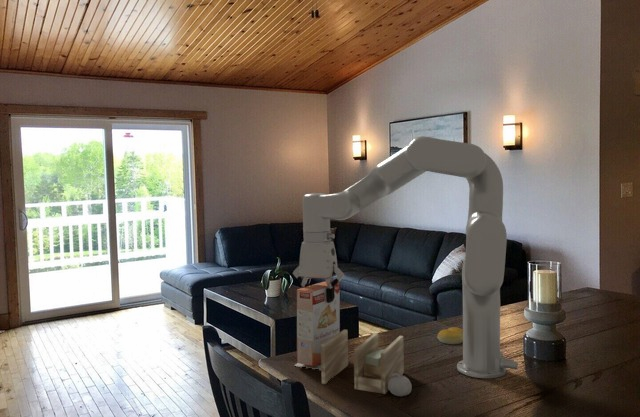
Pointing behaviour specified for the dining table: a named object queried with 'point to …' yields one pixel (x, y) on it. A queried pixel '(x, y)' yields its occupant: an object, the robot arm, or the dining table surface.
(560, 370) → the dining table surface
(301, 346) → the cracker box
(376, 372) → the offcut
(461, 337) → the bread roll
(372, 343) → the rack
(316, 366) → the mat
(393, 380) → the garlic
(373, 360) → the offcut
